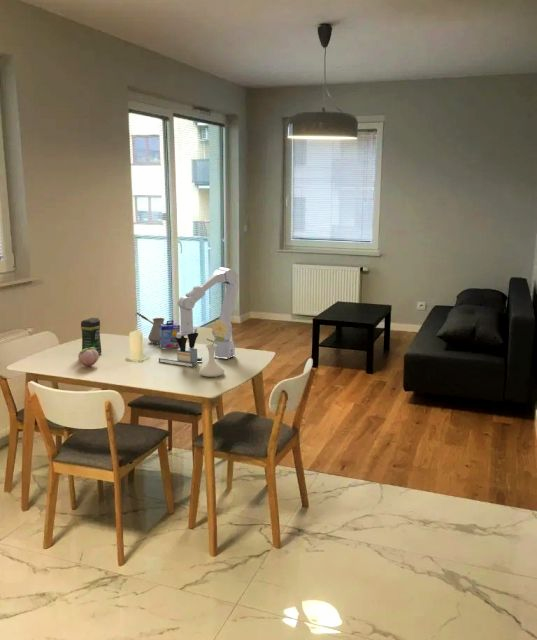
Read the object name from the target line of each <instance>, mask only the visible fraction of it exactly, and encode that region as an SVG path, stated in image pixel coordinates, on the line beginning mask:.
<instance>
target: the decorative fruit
mask: <svg viewBox="0 0 537 640" xmlns="http://www.w3.org/2000/svg"><path fill="white" fill-rule="evenodd" d="M95 349H97V348H95V347H90V348H86V349H83V350H82V349H81V350H80V351H79V352H78V354H77V355H78V356H77V357H78V361H79V362H80V364H81V365H83V366H85V367H87V368H91V367H92V366H93V365H95V364H96V363H97V362H98V360H99V357H100V354H98V352H97V351H96V350H95Z"/></svg>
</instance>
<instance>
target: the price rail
mask: <svg viewBox="0 0 537 640" xmlns="http://www.w3.org/2000/svg"><path fill="white" fill-rule="evenodd" d="M197 361H202V362H203V357H198V356H197ZM161 362H165V363H164V364H167V363H172V364H171V365H174V364H178V365H177V366H180V365H185V366H184V367H187V366H191V367H190V368H193V367H195V366H196V367H197V363H194V362H188V361H181V360H177V359H176V358H175V359H174V358H167V357H161V356H160V357H159V358H158V363H161ZM196 367H195V368H196Z"/></svg>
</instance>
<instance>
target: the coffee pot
mask: <svg viewBox="0 0 537 640" xmlns="http://www.w3.org/2000/svg"><path fill="white" fill-rule="evenodd" d="M134 316H135V317H136V316H138V317H141V318H142V319H144V320H145V321H147V322H149V323H150V324H152V327H151V329H150V331H149V335H148V340H149V342H150V343H152V342H153V343H160V326H159V325H160V324H165V323H164V322H165V319H166V318H164V317H155V318H152V320H150V319H149V318H148V317H146V316H144V315H142V313H140V312H136V313H135V314H134ZM153 343H152V344H153Z"/></svg>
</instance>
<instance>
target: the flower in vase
mask: <svg viewBox="0 0 537 640" xmlns="http://www.w3.org/2000/svg"><path fill="white" fill-rule="evenodd" d="M211 329H212V330H211V333H212V332H213V333H214V334H215V336H216V338H214V340H212V339H209V338H206V340H207V341H208V342H210V343H207V344H205V347H206V348H207V351H208V361H207V362H206V364H204V365H203V366H201V368H199V370H198V373H199V375H201V376H202V377H203V376H204V377H206V378H207V377H209V378H210V377H211V378H212V377H213V378H215V377H219V376H222V375H224V374H225V369H224V368H223V366H221V365H220V364H219V363H217V361H215V358H214V355H215V348H216V346H217V345H216V344H215V340H216V339H217V340H218V341H219V342H222V341H224V340H225V339H224V338H223V337H224V336H225V335H226V334H227V331H228V330H227V329H228V327H227V326H226V324H225V323H224V322H223V321H221V320H220V321H219V320H218V319H217V320H215V322H213V323H212V325H211ZM217 336H218V337H217Z"/></svg>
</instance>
